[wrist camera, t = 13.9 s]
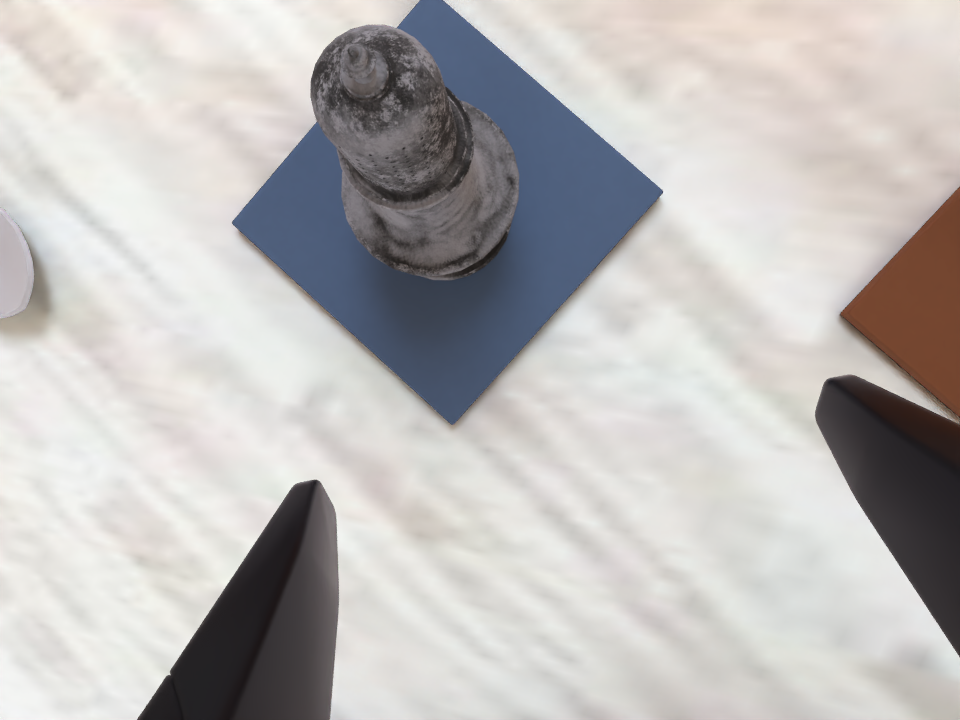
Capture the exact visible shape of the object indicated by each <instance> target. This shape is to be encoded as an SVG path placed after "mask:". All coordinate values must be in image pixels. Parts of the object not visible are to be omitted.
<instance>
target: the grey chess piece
mask: <svg viewBox="0 0 960 720" xmlns="http://www.w3.org/2000/svg"><path fill="white" fill-rule="evenodd" d="M311 101H312V105H313V109H314V113H315V116H316V119H317V122H318V123H319V125H320V127H321V129H322V131H323V133H324V134H325V136H326V137H327V138H328V139H329V140H330V141H331V142H332V143H333V145H334V146H335V147H336V148H337V153H338V158H339V162H340V166H341V169H342V171H343V172H342V192H341V197H342V201H343V206H344V210H345V214H346V219H347V221H348V223H349V225H350V227H351V228H352V230H353V232H354V234H355V236H356V238H357V240H358V241H359V242H360V243H361V244H362V245H363V246H364V247H365V248H366V249H367V250H368V252H369V253H370V254H371V255H372V256H373V257H375V258H376V259H378V260H380V261H381V262H383V263H384V264H386V265H388V266H389V267H391V268H392V269H395V270H398V271H402V272H405V273H408V274H412V275H415V276H421V277H425V278H428V279H431V280H455V279H459V278H463V277H467V276H470V275H471V274H473V273H475V272H477V271H479V270H481V269H482V268H484V267H485V266H486V265H487V264H488V263H489V262H490V261H491V260H493V259H494V258H495V257H496V256H497V254H498V253H499V251H500V250H501V248H502V246H503V245H504V243H505V242H506V240H507V237H508V233H509V230H510V227H511V223H512V219H513V216H514V213H515V209H516V206H517V203H518V197H519V172H518V168H517V163H516V159H515V155H514V151H513V149H512V147H511V146H510V144H509V142H508V140H507V138H506V136H505V134H504V133H503V131H502V130H501V129H500V128H499V127H498V126H497V125H496V124H495V122H494V121H493V120H492V119H491V118H490V117H489V116H488V115H487V114H485V113H484V112H482V111H480V110H479V109H477V108H475V107H474V106H472V105H470V104H469V103H467V102H464V101H460V100H459V99H458V98H457V97H456V96H455V95H454V94H453V93H452V92H451V90H450V89H449V88H447V87H445V85H444V82H443V79H442V75H441V72H440V70H439V68H438V66H437V64H436V62H435V60H434V59H433V57H432V55H431V54H430V53H429V52H428V51H427V50H426V49H425V48H424V47H423V45H422V44H421V43H420V42H419V41H418V40H417V39H416V38H414V37H413V36H411V35H409V34H408V33H406V32H404V31H402V30H401V29H397V28H394V27H390V26H386V25H365V26H361V27H358V28H354V29H350V30H349V31H347V32H345V33H344V34H342V35H340V36H338V37H337V38H335V39H334V40H333V41H332V42H331V43H330V44H329V45H328V46H327V47H326V48H325V49H324V51H323V52H322V54H321V56H320V57H319V59H318V61H317V62H316V64H315V68H314V71H313V75H312V78H311Z"/></svg>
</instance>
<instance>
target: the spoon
mask: <svg viewBox="0 0 960 720" xmlns="http://www.w3.org/2000/svg"><path fill="white" fill-rule="evenodd" d="M33 282H34V268H33V260H32V257H31V254H30V250H29V247H28V244H27V242H26V240H25V238H24V236H23V234H22V232H21V230H20V228H19V226H18V225H17V224H16V222H15V221H14V220H13V219H12V218H11V217H10V215H9V214H8V213H7V212H6V211H5V210H4V209H3V208H1V207H0V318H5V317H11V316H13V315H16V314H18V313H20V312H22V311H23V310H24V309H25V308H26V307H27V305H28V302H29V300H30V296H31V293H32V288H33Z"/></svg>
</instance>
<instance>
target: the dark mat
mask: <svg viewBox="0 0 960 720" xmlns="http://www.w3.org/2000/svg"><path fill="white" fill-rule="evenodd" d="M840 314H841V315H842V316H843V317H844V318H845V319H846V320H847V321H849V322H850V323H851V324H852V325H853V326H854V327H855V328H857V329H858V330H859V331H860V332H861V333H862V334H864V335H865V336H866V337H867V338H868V339H869V340H871V341H872V342H873V343H874V344H875V345H876V346H878V347H879V348H880V349H881V350H882V351H883V352H884V353H886V354H887V355H888V356H889V357H890V358H891V359H893V360H894V361H895V362H896V363H897V364H898V365H900V366H901V367H902V368H903V369H904V370H905V371H907V372H908V373H909V374H910V375H911V376H912V377H914V378H915V379H916V380H917V381H918V382H919V383H920V384H922V385H923V386H924V387H925V388H926V389H927V390H929V391H930V392H931V393H932V394H933V395H934V396H936V397H937V398H938V399H939V400H940V401H941V402H943V403H944V404H945V405H946V406H947V407H948V408H949V409H951V410H952V411H953V412H954V413H955V414H956V415H958V416H959V417H960V187H959V188H958V189H957V190H956V191H955V192H954V193H953V195H952V196H951V197H950V198H949V199H948V200H947V201H946V202H945V203H944V204H943V205H942V206H941V207H940V208H939V209H938V210H937V211H936V213H935V214H934V215H933V216H932V217H931V218H930V219H929V220H928V221H927V222H926V223H925V224H924V225H923V226H922V227H921V228H920V230H919V231H918V232H917V233H916V234H915V235H914V236H913V237H912V238H911V239H910V240H909V241H908V242H907V243H906V244H905V245H904V246H903V248H902V249H901V250H900V251H899V252H898V253H897V254H896V255H895V256H894V257H893V258H892V259H891V260H890V261H889V262H888V263H887V264H886V266H885V267H884V268H883V269H882V270H881V271H880V272H879V273H878V274H877V275H876V276H875V277H874V278H873V279H872V280H871V281H870V282H869V284H868V285H867V286H866V287H865V288H864V289H863V290H862V291H861V292H860V293H859V294H858V295H857V296H856V297H855V298H854V299H853V300H852V302H851V303H850V304H849V305H848V306H847V307H846V308H845V309H844V310H843V311H842V312H841V313H840Z"/></svg>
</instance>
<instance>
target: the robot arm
mask: <svg viewBox="0 0 960 720" xmlns="http://www.w3.org/2000/svg"><path fill="white" fill-rule="evenodd" d="M815 417H816V421H817V424H818V427H819V428H820V430H821V432H822V434H823V436H824V438H825V440H826V442H827V444H828V446H829V448H830V450H831V452H832V454H833V456H834V458H835V460H836V462H837V464H838V466H839V468H840V470H841V471H842V473H843V475H844V477H845V479H846V481H847V483H848V485H849V487H850V489H851V491H852V493H853V494H854V496H855V498H856V500H857V501H858V503H859V505H860V506H861V508H862V509H863V511H864V512H865V514H866V515H867V517H868V519H869V520H870V522H871V523H872V525H873V526H874V528H875V529H876V531H877V532H878V534H879V535H880V537H881V538H882V540H883V541H884V543H885V544H886V546H887V547H888V549H889V550H890V552H891V553H892V555H893V556H894V558H895V559H896V561H897V563H898V564H899V566H900V567H901V569H902V570H903V572H904V573H905V575H906V576H907V578H908V579H909V581H910V582H911V584H912V585H913V587H914V588H915V590H916V591H917V593H918V594H919V596H920V597H921V599H922V600H923V602H924V604H925V605H926V607H927V608H928V610H929V611H930V613H931V614H932V616H933V617H934V619H935V620H936V622H937V623H938V625H939V626H940V628H941V629H942V631H943V632H944V634H945V635H946V637H947V638H948V640H949V641H950V643H951V644H952V646H953V648H954V649H955V651H956V652H957V654H958V655H959V657H960V425H959V424H957V423H955V422H953V421H951V420H949V419H947V418H945V417H942V416H940V415H938V414H936V413H934V412H932V411H930V410H928V409H925V408H923V407H921V406H919V405H917V404H915V403H913V402H911V401H908V400H906V399H904V398H902V397H900V396H898V395H896V394H894V393H891V392H889V391H887V390H885V389H883V388H881V387H879V386H876V385H874V384H872V383H870V382H868V381H866V380H864V379H862V378H859V377H857V376H855V375H843V376H838V377H833V378H829V379H827V380H826V381H825V382H824V384H823V388H822V391H821V394H820V397H819V401H818V404H817V407H816V411H815ZM338 608H339V580H338V552H337V524H336V513H335V509H334V506H333V504H332V502H331V501H330V499H329V497H328V495H327V493H326V491H325V489H324V487H323V486H322V484H321V483H320V481H318V480H310V481H305V482H300V483H297V484H295V485H294V486H293V487H292V488H291V490H290V491H289V493H288V494H287V496H286V497H285V499H284V500H283V502H282V503H281V505H280V506H279V508H278V509H277V511H276V512H275V514H274V515H273V517H272V518H271V520H270V521H269V523H268V524H267V526H266V527H265V529H264V530H263V532H262V533H261V535H260V536H259V538H258V539H257V541H256V542H255V544H254V545H253V547H252V548H251V550H250V551H249V553H248V554H247V556H246V558H245V559H244V561H243V562H242V564H241V565H240V567H239V568H238V570H237V571H236V573H235V574H234V576H233V577H232V579H231V580H230V582H229V583H228V585H227V586H226V588H225V589H224V591H223V592H222V594H221V595H220V597H219V598H218V600H217V601H216V603H215V604H214V606H213V607H212V609H211V610H210V612H209V613H208V615H207V616H206V618H205V619H204V621H203V622H202V624H201V625H200V627H199V628H198V630H197V631H196V633H195V634H194V636H193V637H192V639H191V640H190V642H189V643H188V645H187V646H186V648H185V649H184V651H183V652H182V654H181V655H180V657H179V658H178V660H177V661H176V663H175V664H174V666H173V667H172V669H171V670H170V674H171V675H168V676H166V678H165V679H164V681H163V682H162V684H161V685H160V687H159V688H158V690H157V691H156V693H155V694H154V696H153V697H152V699H151V700H150V701H149V703H148V704H147V706H146V707H145V709H144V710H143V712H142V713H141V714H140V716H139V717H138V719H137V720H330V710H331V698H332V685H333V673H334V660H335V648H336V635H337V623H338Z"/></svg>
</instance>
